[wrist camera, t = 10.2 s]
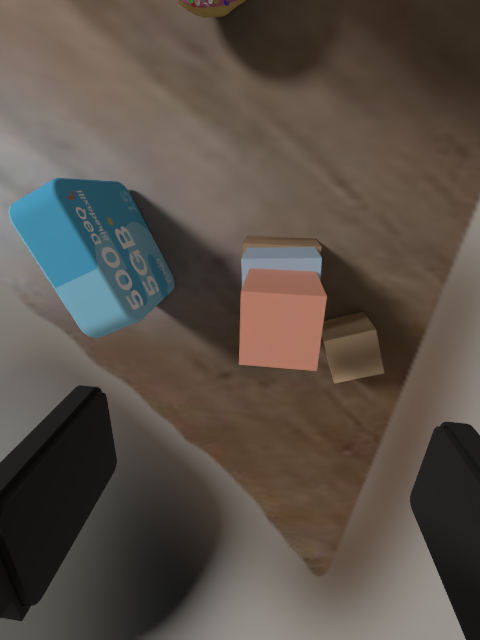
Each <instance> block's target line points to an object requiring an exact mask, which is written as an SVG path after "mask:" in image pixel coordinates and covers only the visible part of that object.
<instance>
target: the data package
mask: <svg viewBox="0 0 480 640" xmlns="http://www.w3.org/2000/svg"><path fill="white" fill-rule="evenodd" d="M9 217H10V220H11V223H12V225H13V226H14V228H15V229H16V231H17V232H18V234H19V235H20V237H21V239H22V240H23V242H24V243H25V245H26V246H27V248H28V249H29V251H30V252H31V254H32V255H33V257H34V258H35V260H36V262H37V263H38V265H39V266H40V268H41V269H42V271H43V272H44V274H45V275H46V277H47V278H48V280H49V282H50V283H51V285H52V286H53V288H54V289H55V291H56V292H57V294H58V295H59V297H60V298H61V300H62V301H63V303H64V305H65V306H66V308H67V309H68V311H69V312H70V314H71V315H72V317H73V318H74V320H75V321H76V323H77V324H78V326H79V328H80V329H81V330H82V331H83V332H84V333H85V334H86V335H88V336H90V337H93V338H99V337H102V336H104V335H107V334H109V333H112V332H114V331H117V330H119V329H122V328H124V327H127V326H129V325H132V324H134V323H136V322H139V321H140V320H141V319H143V318H144V317H145V316H146V315H147V314H148V313H149V312H150V311H151V310H152V309H153V308H154V307H155V306H157V305H158V304H159V303H160V302H161V301H162V300H163V299H164V298H165V297H166V296H167V295H168V294H169V293H171V292H172V291H173V289H174V286H175V283H174V278H173V276H172V273H171V271H170V269H169V268H168V266H167V264H166V262H165V260H164V258H163V256H162V254H161V252H160V250H159V248H158V246H157V244H156V242H155V240H154V238H153V237H152V235H151V233H150V231H149V229H148V227H147V225H146V223H145V221H144V219H143V217H142V215H141V213H140V211H139V209H138V207H137V205H136V204H135V202H134V200H133V198H132V196H131V194H130V193H129V191H128V190H127V189H126V188H125V187H124V186H123V185H122V184H121V183H119V182H114V181H98V180H81V179H64V178H56V179H54V180H52V181H50V182H48V183H47V184H45V185H43V186H42V187H40V188H38V189H37V190H35V191H33V192H32V193H30V194H28V195H26V196H25V197H23V198H21V199H20V200H18V201H16V202H15V203H13V204H12V205H11V206H10V208H9Z"/></svg>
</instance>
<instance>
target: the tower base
mask: <svg viewBox="0 0 480 640" xmlns="http://www.w3.org/2000/svg"><path fill="white" fill-rule="evenodd" d="M268 247H315V248H316V249H317V251H318V253H319V254H320V256H321V248H322V246H321V245H320V244H319V243H318V241H317V240H316V239H307V238H283V237H260V236H248V237H247V238H246V239H245V241H244V242H243V255H244V253H245V251H246V250H247V248H268Z"/></svg>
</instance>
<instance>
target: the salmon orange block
mask: <svg viewBox="0 0 480 640" xmlns="http://www.w3.org/2000/svg"><path fill="white" fill-rule="evenodd" d="M326 300H327V295H326V293H325V291H324V289H323V286H322V284H321V282H320V280H319V277H318V275H317V273H316V272H315V271H295V270H275V269H256V268H250V269H249V272H248V274H247V277H246V279H245V282H244V285H243V287H242V290H241V307H240V345H239V365H250V366H263V367H275V368H287V369H300V370H312V371H317V365H318V358H319V350H320V343H321V336H322V329H323V321H324V314H325V307H326Z"/></svg>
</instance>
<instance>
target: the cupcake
mask: <svg viewBox="0 0 480 640" xmlns="http://www.w3.org/2000/svg"><path fill="white" fill-rule="evenodd" d="M176 1H177V2H178V3H179V4H180V5H182V6H183V7H184V8H185V9H187V10H188V11H190V12H192V13H193V14H195V15H198V16H201V17H223V16H225V15H227V14H228V13H230V12H231V11H232V10H233V9H234V8H235V7H237V6H238V5H240V4H242V3H243V2H245V1H246V0H176Z"/></svg>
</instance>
